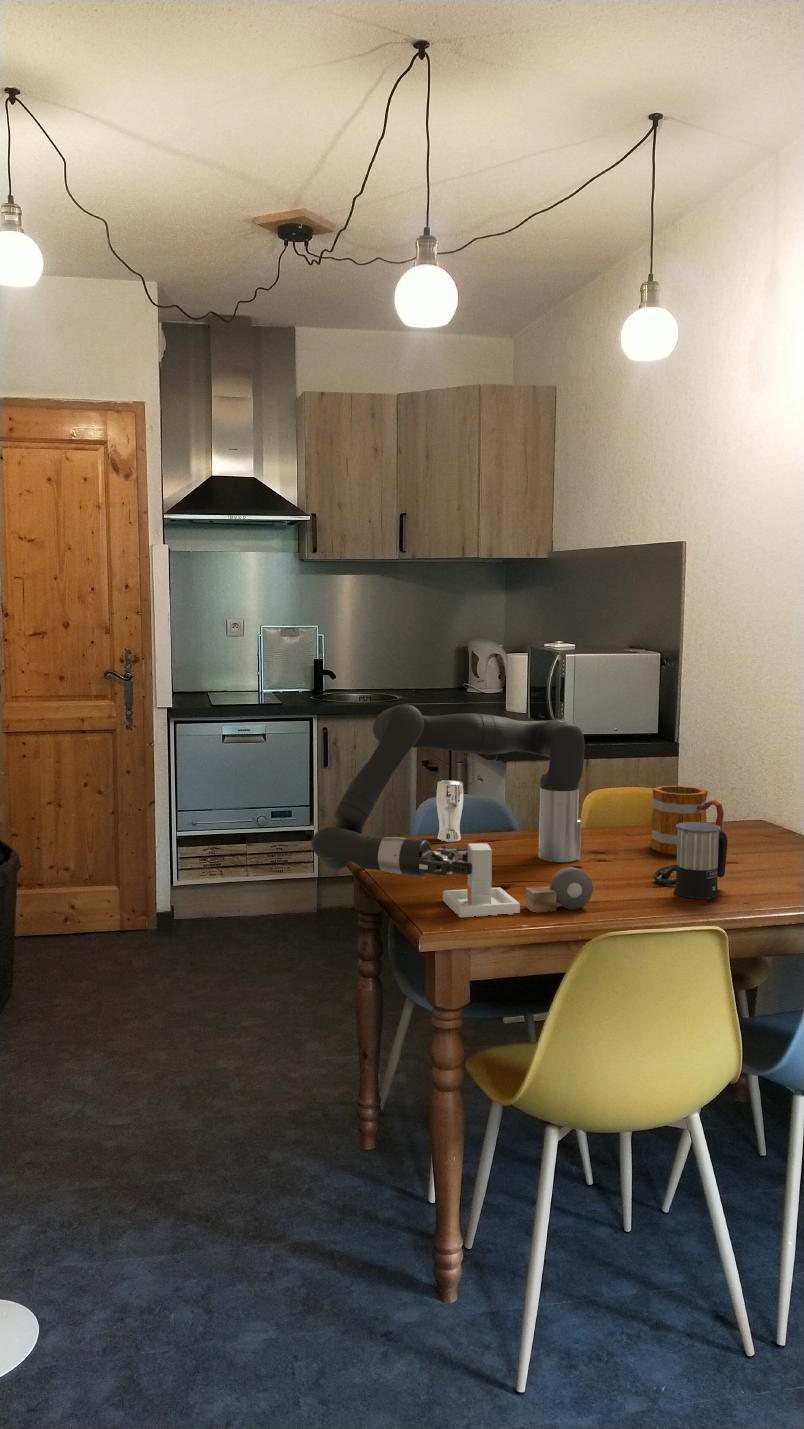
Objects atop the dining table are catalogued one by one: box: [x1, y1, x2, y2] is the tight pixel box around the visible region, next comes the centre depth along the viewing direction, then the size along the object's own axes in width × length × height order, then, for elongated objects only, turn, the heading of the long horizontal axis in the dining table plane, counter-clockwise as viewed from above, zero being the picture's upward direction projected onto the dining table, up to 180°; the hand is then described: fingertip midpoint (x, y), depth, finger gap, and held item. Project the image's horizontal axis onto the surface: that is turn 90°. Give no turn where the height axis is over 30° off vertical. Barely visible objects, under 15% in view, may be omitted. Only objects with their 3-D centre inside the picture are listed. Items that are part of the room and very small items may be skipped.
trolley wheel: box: [549, 866, 594, 910], centre depth 223 cm, size 8×4×8 cm, turn 104°
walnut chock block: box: [525, 886, 557, 913], centre depth 222 cm, size 5×4×4 cm
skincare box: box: [466, 842, 493, 905], centre depth 222 cm, size 6×4×12 cm
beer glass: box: [435, 779, 464, 843], centre depth 284 cm, size 7×7×15 cm
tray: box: [442, 886, 521, 918], centre depth 223 cm, size 12×12×2 cm
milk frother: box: [653, 822, 728, 900], centre depth 237 cm, size 14×16×15 cm
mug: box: [650, 785, 725, 855], centre depth 273 cm, size 20×14×15 cm
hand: (478, 864), depth 222 cm, fingers open, 8 cm apart
